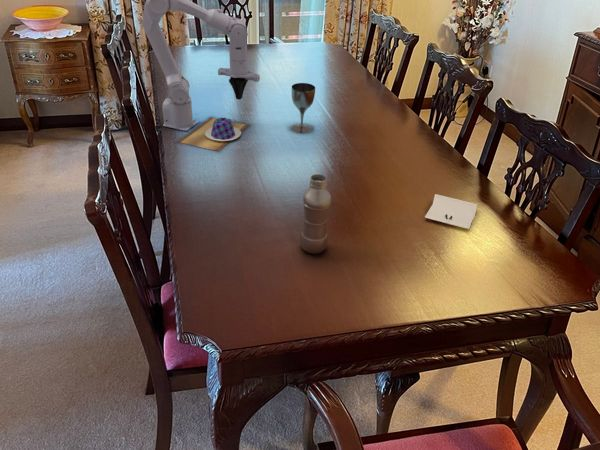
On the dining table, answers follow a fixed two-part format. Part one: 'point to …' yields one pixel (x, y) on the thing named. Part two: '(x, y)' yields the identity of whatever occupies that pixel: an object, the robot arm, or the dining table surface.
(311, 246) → the plastic bottle
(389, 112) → the dining table surface
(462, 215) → the folded paper
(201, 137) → the placemat
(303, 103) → the wine glass
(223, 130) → the pudding
